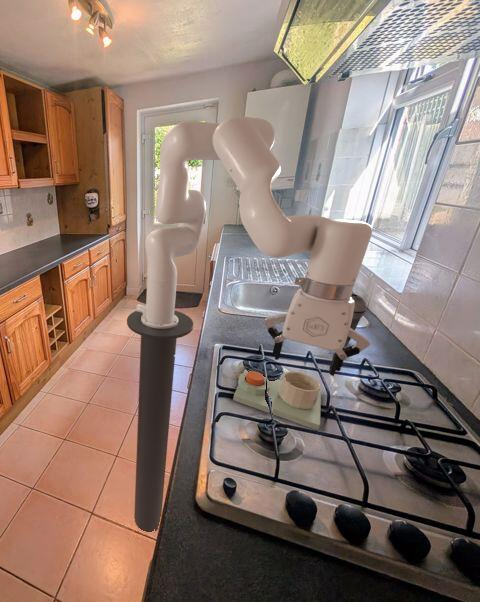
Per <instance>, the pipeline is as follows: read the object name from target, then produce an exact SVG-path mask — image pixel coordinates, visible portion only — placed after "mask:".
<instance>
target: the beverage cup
mask: <svg viewBox="0 0 480 602" xmlns="http://www.w3.org/2000/svg"><path fill="white" fill-rule="evenodd" d="M351 298H353V300H354V312H353V318H352V322H351V326H350V328H351V329H353V330H355V331H356V330H357V327H358V325H359V323H360V321H361V319H362V317H363V316H364V314H365V313H366V312H367V310H366V309H367V305H366V301H365V299H364V298H363V297H361V295H359V294H356V293H352V294H351ZM351 340H352V339H351V338H350V337H348V336H347V340H346V343H345V345H344V347H345V348H346V347H348V345H349V344H350V342H351Z"/></svg>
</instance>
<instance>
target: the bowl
mask: <svg viewBox="0 0 480 602" xmlns="http://www.w3.org/2000/svg"><path fill="white" fill-rule="evenodd" d="M281 380H282V381H281V385H280V389H279V396H280V398H281V399H282V400H283V401H284V402H285V403H287V404H289V405H290V406H293V407H295V408H299V409H308V408H312V407H314V406H315V404H316V401H317V398H318V395H319V392H321V389H322V388H321V383H320V382H319V381H318V380H317V379H316V378H314V376H312V375H308V374H307V373H303V372H300V371H291V370H290V371H286V372H284V373H283V374H282V378H281Z"/></svg>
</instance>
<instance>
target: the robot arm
mask: <svg viewBox="0 0 480 602" xmlns="http://www.w3.org/2000/svg"><path fill="white" fill-rule="evenodd" d="M275 139H276V132H275V128H274V126H273V125H272V124H271V122H269V121H268V120H267V119H264V118H259V117H251V116H232V117H228V118H227V119H225V120H224V121H222V122H220V123H219V122H218V123H216V122H207V121H206V122H205V121H198V120H197V121H196V120H195V121H191V120H190V121H182V122H178V123H176V124H174V125H172V126H171V127H170V128H169V129H168V130H167V131H166V133H165V134H164V136H163V139H162V141H161V145H160V149H159V178H158V185H157V192H156V199H155V207H154V216H155V219H156V221H157V222H158V223H159V224H161V225H176V224H177V226H168V227H161V228H156V229H154V230H152V231H150V232H149V233H148V234H147V236H146V238H145V243H144V244H145V253H146V262H147V263H146V264H147V277H146V298H145V299H146V300H145V301H146V303H145V305H144V304H139V303H138V304H137V305H136V310H135V311H137V312H141V313H142V314H143V315H142V316H141V321H142V323H143V324H145V325H146V326H148V327H151V328H156V329H168V328H172V327H175V326H176V325H177V324H178V317H177V316H176V315H174V310H175V308H176V299H177V284H178V268H177V266H176V263H175V262H174V258H179V257H185V256H188V255H191V254H193V253H194V252H195V251H196V250H197V249H198V247H199V244H200V241H201V235H202V232H203V228H204V223H205V218H206V214H207V202H206V199H205V198H206V197H204V195H203V193H201V192H200V191H198V190H196V189H190V182H191V169H190V166H189V163H188V161H194V160H196V161H221V163H222V165H223V166H224V168H225V170H226V171H227V173H228V174H229V176H230V177H231V179H232V181H233V183H234V184H235V186H236V187H237V189H238V191H239V199H238V201H239V202H238V205H239V207H238V208H239V216H240V220H241V223H242V225H243V227H244V229H245V231H246V232H247V234H248V236H249V238H250V239H251V241H252V242H253V243H254V245H255V246H256V247H257V249H259V251H260V252H261V253H263V254H264V255H265V256H268V257H270V258H278V259H279V258H286V257H290V256H294V255H301V254H309V253H310V256H309V261H308V264H307V268H306V271H305V276H303V277H295V279H294V283H293V284H294V285H298V286H299V287H300V288H298V289H297V290H296V292H295V294H294V295H293V297H292V299H291V302H290V305H289V307H288V310H287V313H284V314H279V315H273V316H268V317H266V318H265V320H264V324H265V327H266V329H267V332H268V334H269V335H270V336H271V338H272V339H273V342H274V345H273V350H272V354H275V355H274V360H276V361H278V360H279V359H280V355H281V353H282V350H283V349H282V348H283V345H284V342H285V340H289V341H292V342H296V343H300V344H304V345H308V346H312V347H316V348H319V349H324V350H328V351H334V353H333V355H332V358H331V361H330V364H329V369H328V370H329V371H328V373H329V375H330V376H332V377H334V376H335V374H336V372H340V371H341V369H342V366H343V363H344V361H345V360H347V359H349V358H351V357H353V356H358V355H359V354H360V353H361V352H363V351H364V350H366V349H367V348H368V347H370V346H371V341H370V339H368V338H367V337H365V336H364V335H363V334H361V333H359V332H358V331H356V329H355V330H353V329H351V328H350V326H351V322H352V318H353V312H354V300H353V298H351V294H353V290H354V288H355V285H356V282H357V278H358V276H359V273H360V269H361V267H362V264H363V261H364V258H365V256H366V253H367V249H368V247H369V244H370V241H371V238H372V235H373V227H372V225H371V224H369V223H367V222H364V221H360V220H352V219H333V218H328V217H324V216H321V215H316V214H311V213H308V214H305V213H304V214H294V215H287V216H286V215H285V214H284V212H283V211H282V209H281V207H280V206H279V204H278V203H277V201H276V199H275V198H274V195H273V191H272V183H273V182H275V180H276V179H277V178H278V177H279V176H280V174H281V170H282V166H281V163H280V162H279V160H278V158H277V157H276V155H275V154H274V153H273V152H272V148H273V146H274V144H275ZM175 311H176V310H175ZM281 323H283V326H282V330H280V331H279V330H278V329H277V328H276V327H275V324H281ZM347 336H348V337H350V338H351V340H353V341H354V342H356V343H355V344H352V345H350V346H345V347H344V345H345V343H346V340H347ZM279 361H280V360H279Z"/></svg>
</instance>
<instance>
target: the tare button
mask: <svg viewBox="0 0 480 602" xmlns="http://www.w3.org/2000/svg"><path fill="white" fill-rule="evenodd" d="M248 371H249V372H248V373H247V376H246V381H247V382H248V383H249V384H251V385H254V386H262V385H263V382H264V376H263V375H264V374H262V373H261V372H259V371H255V370H248Z"/></svg>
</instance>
